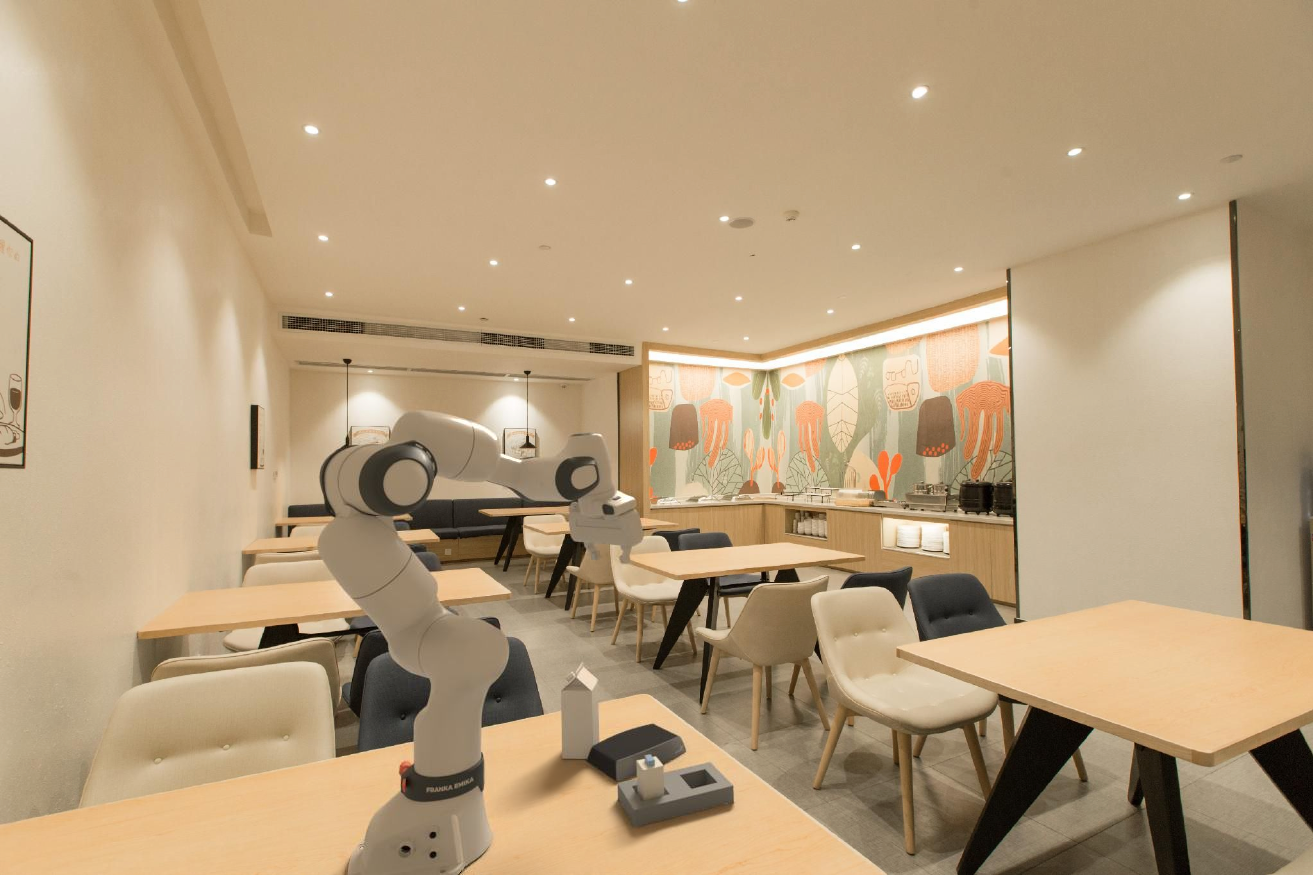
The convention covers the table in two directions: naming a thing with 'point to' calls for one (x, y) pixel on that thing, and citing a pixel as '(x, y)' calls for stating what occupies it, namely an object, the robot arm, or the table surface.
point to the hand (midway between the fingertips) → (610, 561)
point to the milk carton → (579, 714)
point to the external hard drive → (634, 750)
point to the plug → (650, 778)
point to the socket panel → (677, 794)
